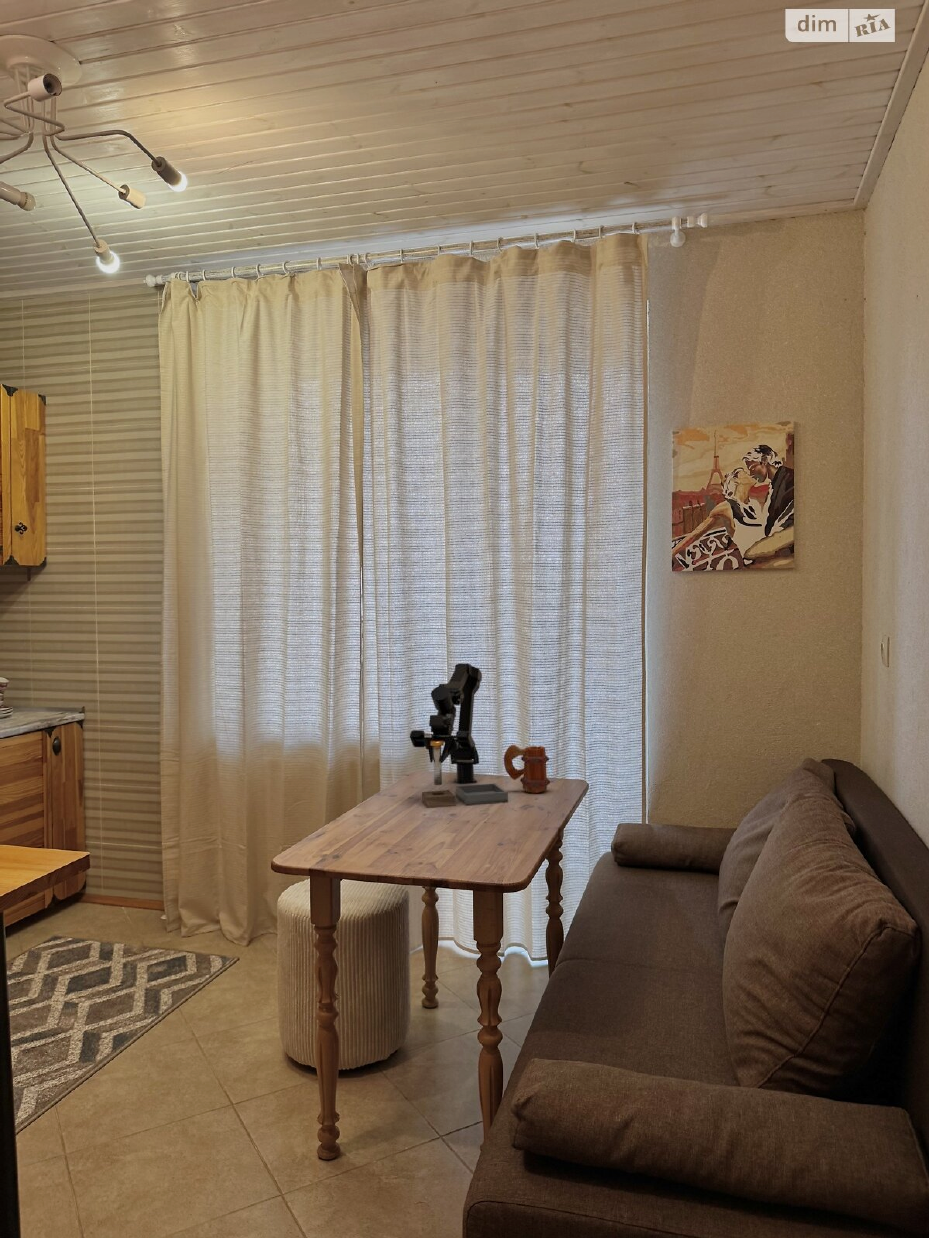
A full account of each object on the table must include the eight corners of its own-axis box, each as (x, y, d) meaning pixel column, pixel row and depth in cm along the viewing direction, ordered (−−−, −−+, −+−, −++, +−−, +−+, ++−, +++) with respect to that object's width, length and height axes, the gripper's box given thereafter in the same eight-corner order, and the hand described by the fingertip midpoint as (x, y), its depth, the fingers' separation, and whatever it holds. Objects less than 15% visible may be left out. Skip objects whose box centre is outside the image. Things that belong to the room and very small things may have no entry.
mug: (550, 788, 294) (549, 742, 294) (550, 794, 286) (549, 746, 285) (505, 788, 295) (504, 742, 295) (503, 794, 287) (502, 747, 287)
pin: (430, 783, 278) (429, 740, 278) (443, 782, 279) (442, 739, 279) (432, 786, 274) (431, 742, 274) (445, 785, 275) (444, 741, 275)
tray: (455, 795, 287) (455, 786, 287) (495, 792, 290) (495, 783, 290) (466, 805, 274) (466, 795, 273) (507, 802, 277) (507, 792, 277)
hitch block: (422, 801, 280) (422, 791, 280) (448, 799, 282) (448, 789, 282) (427, 807, 272) (427, 797, 272) (455, 805, 274) (454, 795, 273)
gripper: (410, 704, 282) (400, 745, 272) (469, 704, 277) (460, 746, 267) (418, 725, 290) (409, 766, 279) (475, 726, 285) (468, 768, 275)
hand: (436, 761), depth 275 cm, fingers closed on pin, 3 cm apart
